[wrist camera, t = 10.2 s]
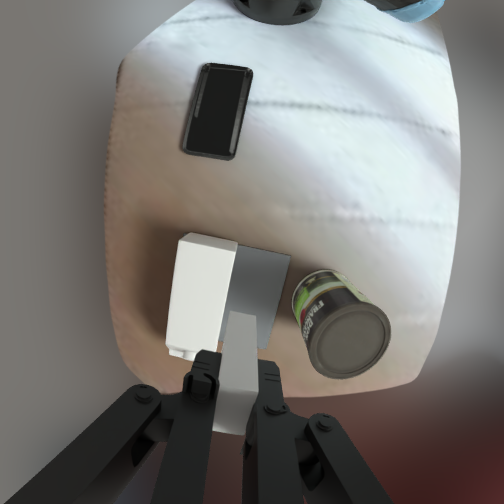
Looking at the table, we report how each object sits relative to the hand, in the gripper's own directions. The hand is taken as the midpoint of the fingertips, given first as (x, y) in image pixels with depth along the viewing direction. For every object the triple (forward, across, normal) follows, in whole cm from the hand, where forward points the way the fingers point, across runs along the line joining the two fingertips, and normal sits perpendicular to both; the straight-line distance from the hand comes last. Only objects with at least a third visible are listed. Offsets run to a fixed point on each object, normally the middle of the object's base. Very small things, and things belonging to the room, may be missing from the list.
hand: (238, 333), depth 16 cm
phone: (+27, -8, +19) cm, 34 cm away
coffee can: (+26, +14, -6) cm, 30 cm away
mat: (+26, -1, -8) cm, 27 cm away
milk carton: (+22, -5, 0) cm, 23 cm away
